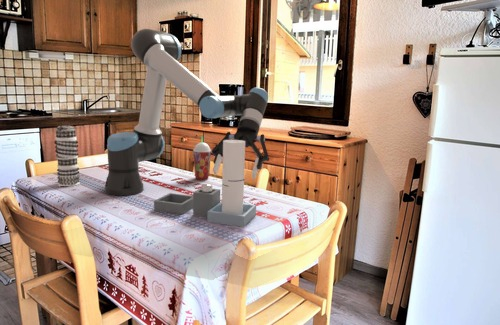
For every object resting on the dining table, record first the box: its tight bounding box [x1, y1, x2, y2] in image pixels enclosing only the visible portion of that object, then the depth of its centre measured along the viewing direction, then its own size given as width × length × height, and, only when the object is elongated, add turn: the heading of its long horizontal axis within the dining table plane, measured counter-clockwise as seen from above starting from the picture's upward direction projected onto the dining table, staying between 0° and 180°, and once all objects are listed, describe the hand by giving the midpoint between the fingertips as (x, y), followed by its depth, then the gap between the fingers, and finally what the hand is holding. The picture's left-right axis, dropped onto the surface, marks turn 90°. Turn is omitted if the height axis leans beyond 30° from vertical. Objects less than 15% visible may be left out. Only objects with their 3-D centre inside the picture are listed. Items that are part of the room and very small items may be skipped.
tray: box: [206, 200, 257, 228], centre depth 130 cm, size 13×13×4 cm
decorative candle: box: [53, 125, 81, 187], centre depth 164 cm, size 9×9×25 cm
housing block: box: [192, 187, 221, 218], centre depth 134 cm, size 7×7×8 cm
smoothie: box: [192, 136, 212, 181], centre depth 181 cm, size 8×8×20 cm
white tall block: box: [221, 140, 246, 215], centre depth 127 cm, size 7×7×25 cm
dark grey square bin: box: [153, 192, 193, 215], centre depth 139 cm, size 11×11×4 cm
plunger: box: [201, 183, 213, 193], centre depth 133 cm, size 4×4×4 cm
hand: (233, 174), depth 127 cm, fingers open, 13 cm apart
